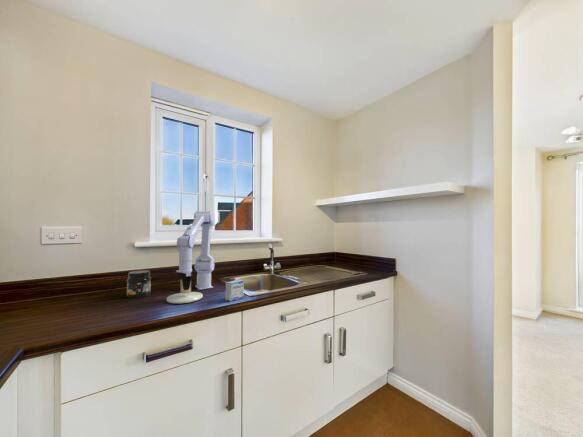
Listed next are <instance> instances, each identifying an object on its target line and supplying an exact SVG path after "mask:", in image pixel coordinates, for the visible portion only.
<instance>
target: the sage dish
mask: <svg viewBox="0 0 583 437" xmlns="http://www.w3.org/2000/svg"><path fill="white" fill-rule="evenodd" d="M203 296H204V295H203V293H202V292H198V291H191V293H185V294H182V293H181V292H179V293H173V294H171V295H168V296H167V297H166V302H167V303H169V304H187V303H188V304H189V303H192V302H197V301H199V300H201V299H203Z"/></svg>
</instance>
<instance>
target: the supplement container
mask: <svg viewBox="0 0 583 437" xmlns="http://www.w3.org/2000/svg"><path fill="white" fill-rule="evenodd" d="M150 275H151V271H150V270H145V269H144V270H143V269H141V270H134V271H130V272H128V274H127V277H128V278H127V279H126V297H128V298H129V299H130V298H131V299H137V298H138V299H139V298H144V297H146V296H149V295H151V292H152V289H151V286H152V284H151V283H152V282H151V281H152V280H151V279H152V276H150Z"/></svg>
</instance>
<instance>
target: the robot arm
mask: <svg viewBox="0 0 583 437" xmlns="http://www.w3.org/2000/svg"><path fill="white" fill-rule="evenodd" d="M214 224H215V214H214V212H213V211H212V210H208V211H207V210H202V211H201V210H195V212H194V213H193V221H192V223H191V225H188V227H186V229H185V231H184V232H183V234H182V235H180V236H179V237H178V238H177V240H176V247H177V251H178V252H179V253H178V269H177V270H175V272H176V273H177V276H178V277H179V281H180V282H179V283H181V280H182V283H183V289H184V290H189V286H190V282H191V283H192V281H193V280H192V279H193V278H194V275H193V274H192V272H193V268H192V267H193V263H192V262H193V247H194V246H195V242H196V237H197V235H198V234H199V228H200V227H201V229H202V230H201V242H200V243H201V244H200V255H198V256H197V257H196V258H195V262H194V270H195V271H196V273H197V274H196V285H195V288H196V289H197V290H198V291H199V290H205V289H213V288H214V286H213V285H212V272H213V271H214V269H215V258H214V257H213V256H212V255H211V254H210V251H211V250H210V249H211V237H212V236H211V233H212V227H213V226H214Z"/></svg>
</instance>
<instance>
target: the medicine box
mask: <svg viewBox="0 0 583 437" xmlns="http://www.w3.org/2000/svg"><path fill="white" fill-rule="evenodd" d="M244 282H245V280H243V279H236V280H231V281H226V282H225V301H227V300H229V301H228V302H231V301H232V302H234V301H233V300H235V301H237V300H236V299H238V300H240V299H239V298H241V299H244V298H243V297H244V296H245V294H244V293H245V292H244V291H245V290H244V288H245V286H244V285H245V283H244Z"/></svg>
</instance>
